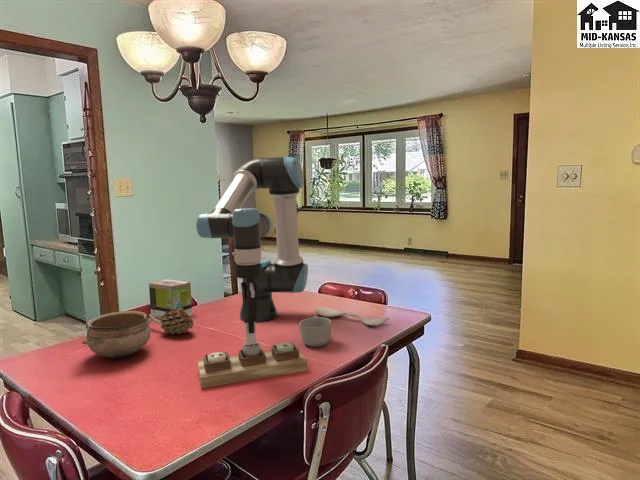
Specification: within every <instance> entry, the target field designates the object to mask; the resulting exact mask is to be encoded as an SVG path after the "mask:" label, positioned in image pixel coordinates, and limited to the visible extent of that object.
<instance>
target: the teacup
mask: <svg viewBox="0 0 640 480" xmlns="http://www.w3.org/2000/svg"><path fill="white" fill-rule="evenodd" d="M298 326H299V333H300V337H301V341H302V342H303V343H304V344H305V345H306V346H308V347H311V348H318V347H319V348H320V347H324V346H325V345H327V343H328V342H329V341H330V340H331V339H332V320H331V319H330V318H329V317H324V316H317V315H314V316H313V317H308V318H304V319H302V320H300V321H299V324H298Z"/></svg>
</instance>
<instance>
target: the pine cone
mask: <svg viewBox="0 0 640 480" xmlns="http://www.w3.org/2000/svg"><path fill="white" fill-rule="evenodd" d="M148 318H150V319H151V322H154V323H156V324H158V325H159V326H160V329H162V330H163V333H165V334H171V335H175V334H178V335H180V334H182V333H187V332H189V330H190V329H192V328H193V327H194V326H195V323H194V318H193V317H192V316H191V314H189V313H187V310H186V311H184V310H183V308H178V309H177V310H176V309H172V311H170V312H168V311H167V312H166V313H165V314H164V315H162V316H161V318H159V319H158V318H157V317H153V315H151V313H149V314H148Z"/></svg>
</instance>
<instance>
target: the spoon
mask: <svg viewBox="0 0 640 480" xmlns="http://www.w3.org/2000/svg"><path fill="white" fill-rule="evenodd" d="M315 313H316V314H318V315H319V316H320V317H325V318H335V317H338V316H343V315H346V316H349V317H350V316H352V317H355V318H358V319H360V320H361V321H362V322H363V323H364V324H365V325H367V326H372V327H373V326H374V327H375V326H379V325H382V324H383V323H385V322H387V321H389V320H390V317H387V316H386V317H383V318H373V319H370V318H369V319H368V318H365V317H363V315H360V314H357V313H355V312H352V311H351V312H349V311H343V312H342V311H340V310H336V309H333V308H330V307H317V308H316V309H315Z"/></svg>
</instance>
